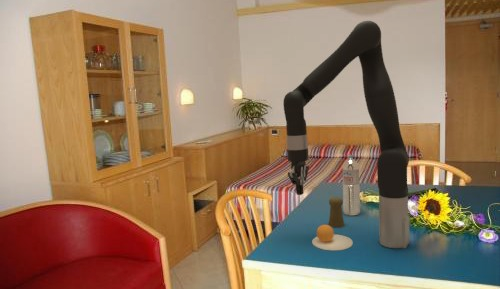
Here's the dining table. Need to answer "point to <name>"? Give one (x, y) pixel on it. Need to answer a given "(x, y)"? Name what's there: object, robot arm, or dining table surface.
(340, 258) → the dining table surface
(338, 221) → the brown rounded upright piece
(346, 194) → the water bottle
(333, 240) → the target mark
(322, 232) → the ball
